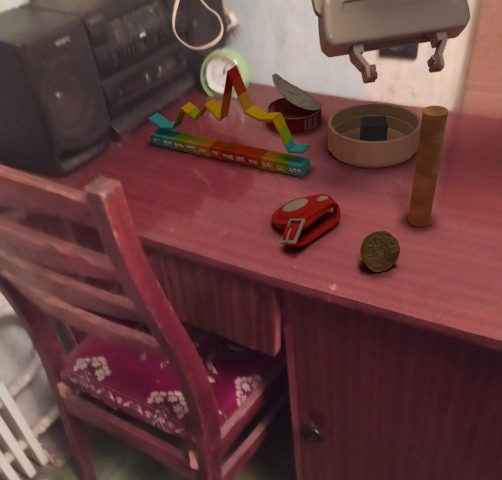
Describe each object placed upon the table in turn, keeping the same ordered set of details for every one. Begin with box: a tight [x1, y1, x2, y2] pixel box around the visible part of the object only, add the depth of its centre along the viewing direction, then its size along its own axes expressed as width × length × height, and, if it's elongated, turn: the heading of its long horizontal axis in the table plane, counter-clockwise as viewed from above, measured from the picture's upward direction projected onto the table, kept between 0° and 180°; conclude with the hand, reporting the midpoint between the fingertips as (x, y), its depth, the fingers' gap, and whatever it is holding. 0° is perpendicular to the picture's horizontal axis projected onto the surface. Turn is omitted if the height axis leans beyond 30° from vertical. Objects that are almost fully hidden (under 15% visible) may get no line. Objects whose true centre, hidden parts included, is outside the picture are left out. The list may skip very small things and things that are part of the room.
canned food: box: [267, 73, 323, 136], centre depth 107 cm, size 11×10×10 cm
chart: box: [148, 65, 311, 178], centre depth 96 cm, size 30×3×15 cm, turn 60°
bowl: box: [326, 102, 422, 169], centre depth 98 cm, size 15×15×4 cm
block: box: [360, 115, 388, 141], centre depth 98 cm, size 4×4×4 cm
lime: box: [359, 230, 401, 273], centre depth 75 cm, size 4×5×5 cm
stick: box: [407, 105, 449, 228], centre depth 77 cm, size 3×3×16 cm
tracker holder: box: [271, 193, 341, 248], centre depth 82 cm, size 12×4×10 cm
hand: (404, 75), depth 78 cm, fingers open, 8 cm apart
